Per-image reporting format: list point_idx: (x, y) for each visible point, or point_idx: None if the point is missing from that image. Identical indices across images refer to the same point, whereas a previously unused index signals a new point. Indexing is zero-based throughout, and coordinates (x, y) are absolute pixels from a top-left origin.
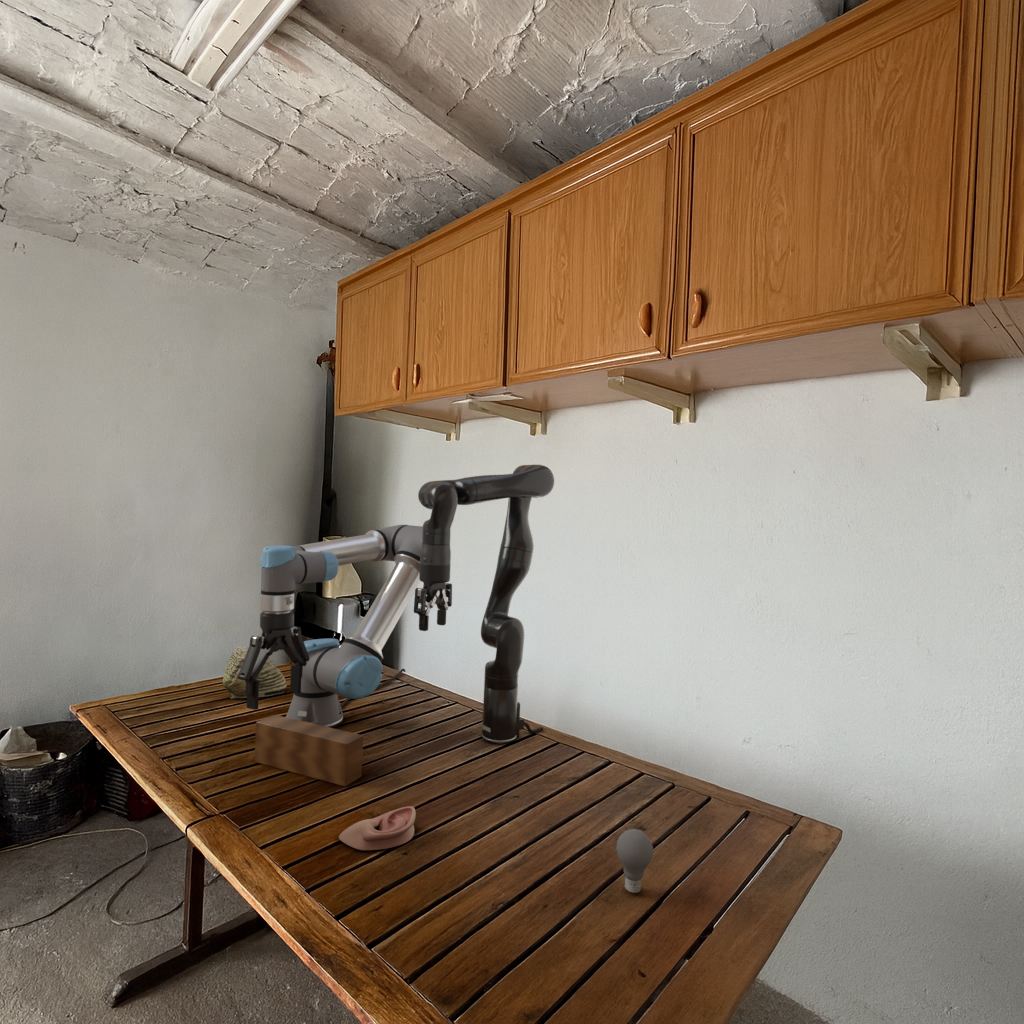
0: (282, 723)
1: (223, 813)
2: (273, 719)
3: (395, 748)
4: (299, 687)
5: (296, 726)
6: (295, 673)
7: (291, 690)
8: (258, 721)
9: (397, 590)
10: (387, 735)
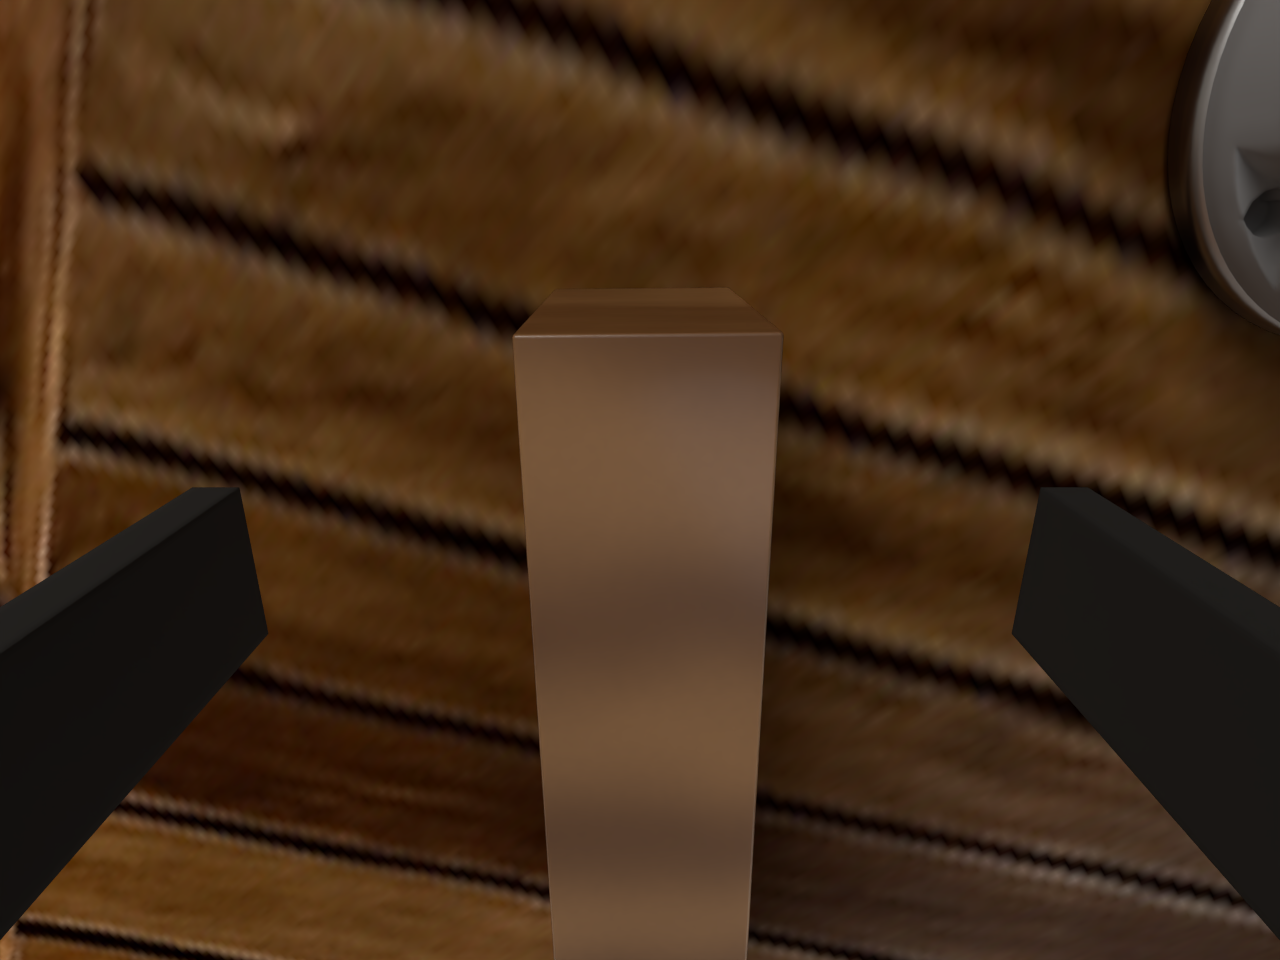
0: (624, 579)
1: None
2: (665, 431)
3: (1095, 830)
4: (1070, 683)
5: (632, 718)
6: (1244, 777)
7: (1045, 522)
8: (536, 348)
9: None
10: None
